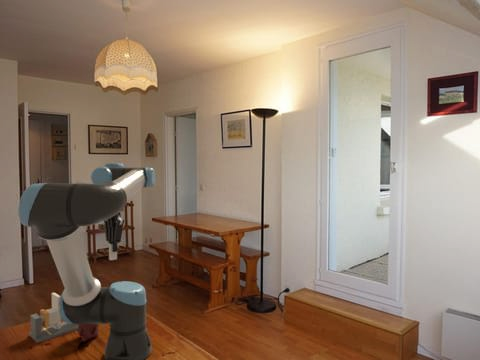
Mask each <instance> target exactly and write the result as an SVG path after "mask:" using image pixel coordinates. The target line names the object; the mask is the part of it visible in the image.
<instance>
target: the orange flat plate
mask: <svg viewBox="0 0 480 360" xmlns="http://www.w3.org/2000/svg"><path fill="white" fill-rule="evenodd" d="M46 310H47V309H44V308H42V309H40V311H39V313H40V315H39V316H42V315H44V316H45V322H42V323H41V326H43V328H47V327H49V326H50V325H49V313H48V312H47V311H46Z"/></svg>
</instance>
